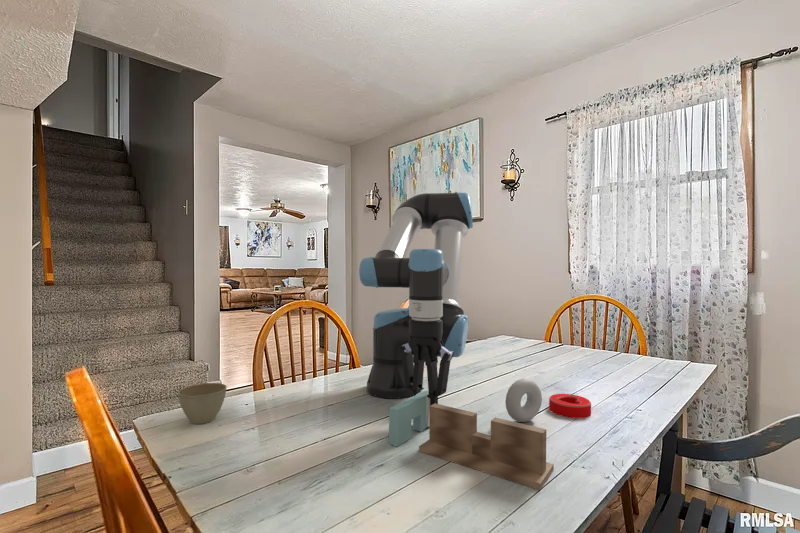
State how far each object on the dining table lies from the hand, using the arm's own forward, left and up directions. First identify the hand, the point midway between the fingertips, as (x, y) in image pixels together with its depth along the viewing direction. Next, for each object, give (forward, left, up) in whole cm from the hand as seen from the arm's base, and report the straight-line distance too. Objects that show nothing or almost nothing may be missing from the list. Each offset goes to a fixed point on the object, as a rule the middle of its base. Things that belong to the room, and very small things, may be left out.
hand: (425, 422), depth 91 cm
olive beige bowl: (-43, -28, -1) cm, 51 cm away
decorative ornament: (+24, +29, -1) cm, 38 cm away
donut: (+17, +15, -1) cm, 23 cm away
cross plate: (0, -6, -1) cm, 6 cm away
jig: (+17, -8, -1) cm, 19 cm away
